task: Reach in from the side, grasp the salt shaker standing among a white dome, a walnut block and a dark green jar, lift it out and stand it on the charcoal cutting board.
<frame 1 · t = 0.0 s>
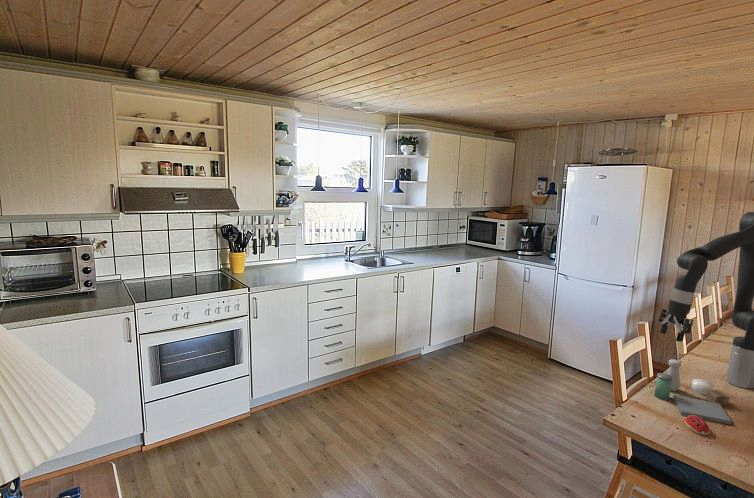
hand: (670, 337, 175), 22 cm above the table, tool pointing down, fingers open, 8 cm apart
walnut block: (716, 402, 166), on the table
ladybug figurine: (696, 429, 149), on the table
white dome: (701, 391, 175), on the table
cutting board: (700, 410, 160), on the table
dark green jar: (661, 396, 170), on the table
salt shaker: (670, 389, 176), on the table
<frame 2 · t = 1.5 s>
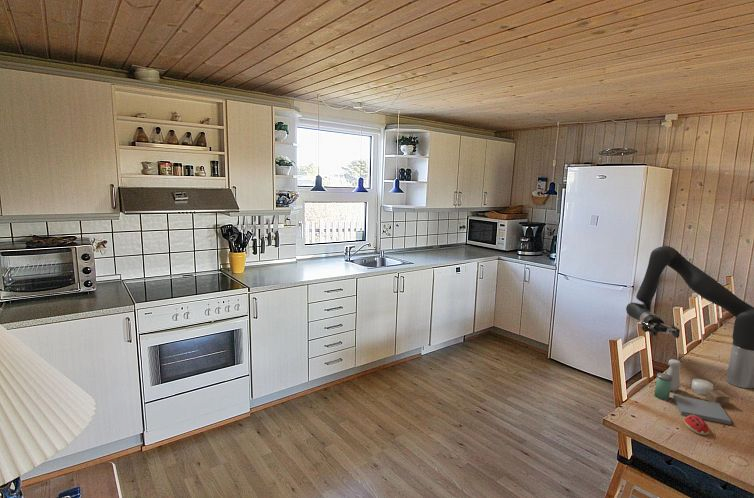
hand: (666, 334, 183), 20 cm above the table, tool horizontal, fingers open, 8 cm apart
nothing on the table moved.
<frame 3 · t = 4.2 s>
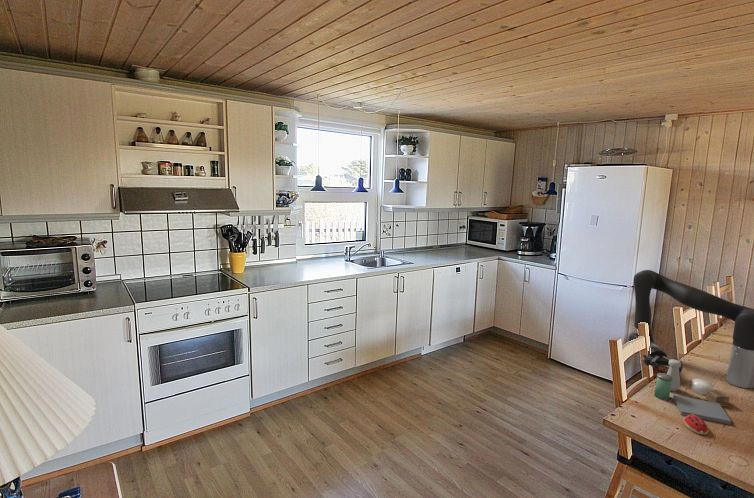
hand: (668, 369, 179), 7 cm above the table, tool horizontal, fingers open, 8 cm apart
nothing on the table moved.
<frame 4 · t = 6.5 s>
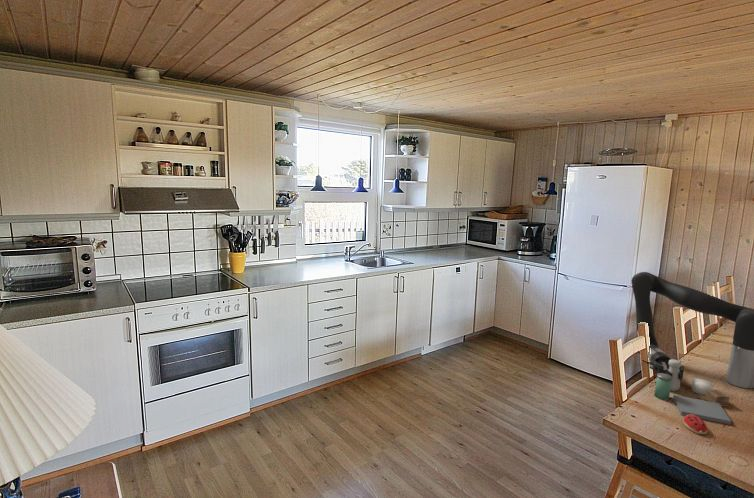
hand: (676, 376, 172), 7 cm above the table, tool horizontal, fingers closed on salt shaker, 3 cm apart
salt shaker: (670, 389, 176), on the table, touching gripper
everything else where it was.
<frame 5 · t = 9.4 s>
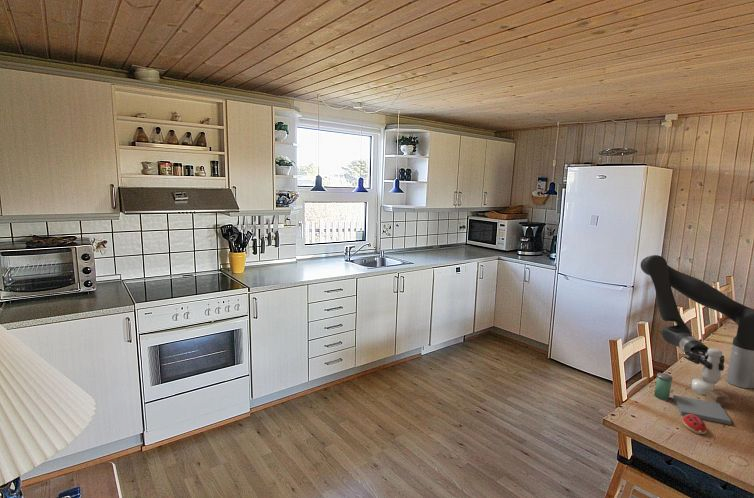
hand: (716, 367, 153), 20 cm above the table, tool horizontal, fingers closed on salt shaker, 3 cm apart
salt shaker: (709, 381, 157), point 12 cm above the table, touching gripper
everything else where it was.
when the fingers open (10 cm above the table, at t = 12.3 s): salt shaker drops 1 cm, resting on cutting board.
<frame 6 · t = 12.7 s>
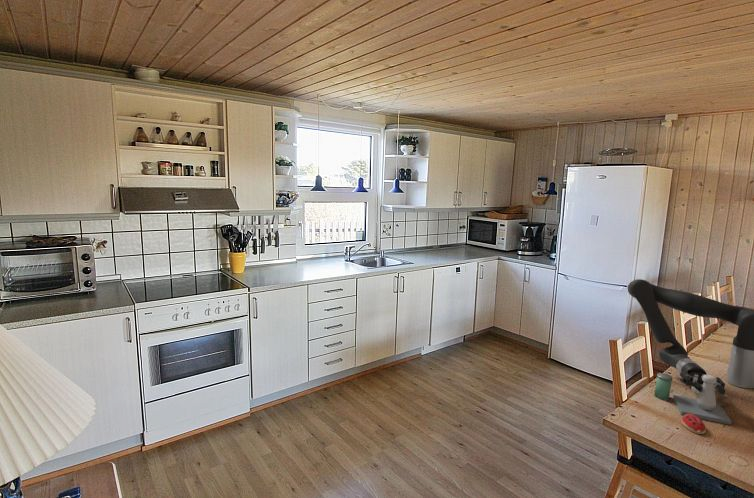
hand: (712, 390, 155), 10 cm above the table, tool horizontal, fingers open, 6 cm apart
salt shaker: (705, 408, 159), point 1 cm above the table, touching cutting board
everything else where it was.
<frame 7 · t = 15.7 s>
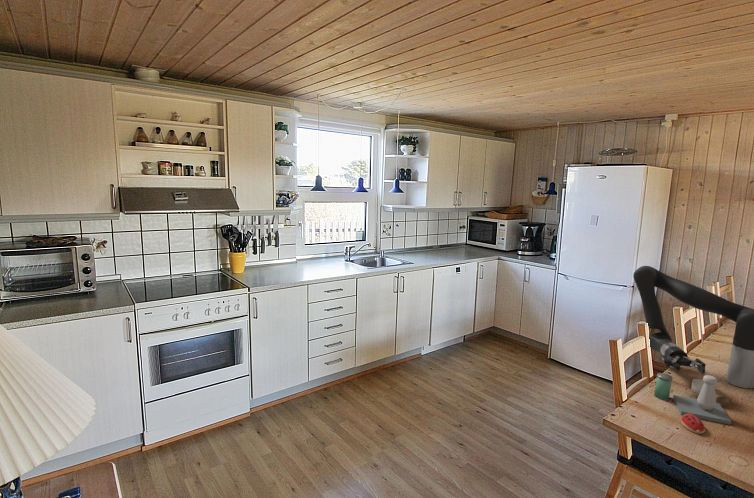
hand: (691, 370, 168), 12 cm above the table, tool horizontal, fingers open, 8 cm apart
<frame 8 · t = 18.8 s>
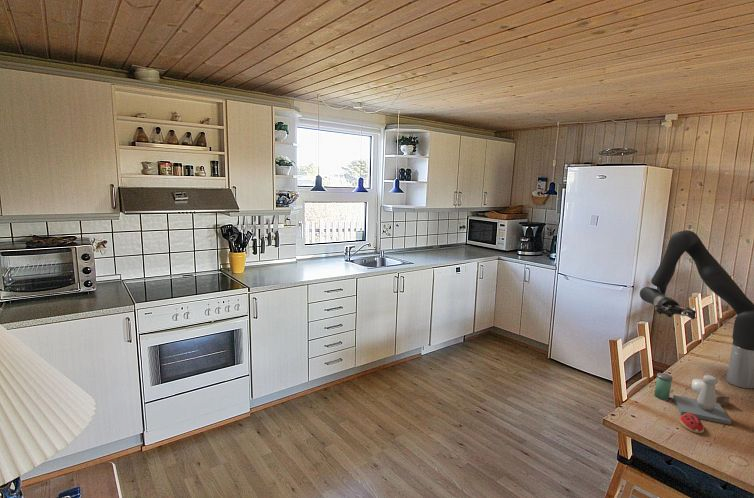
hand: (682, 316, 178), 30 cm above the table, tool horizontal, fingers open, 8 cm apart
at the end: salt shaker inside the target area on the cutting board (1.5 cm from its centre), point 1.3 cm above the cutting board's base; salt shaker tilted 0°; the gripper is holding nothing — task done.
